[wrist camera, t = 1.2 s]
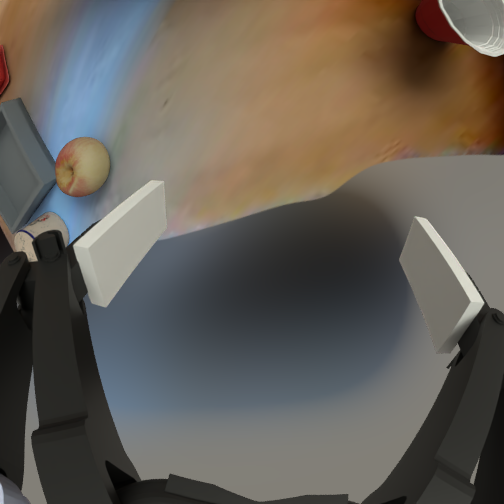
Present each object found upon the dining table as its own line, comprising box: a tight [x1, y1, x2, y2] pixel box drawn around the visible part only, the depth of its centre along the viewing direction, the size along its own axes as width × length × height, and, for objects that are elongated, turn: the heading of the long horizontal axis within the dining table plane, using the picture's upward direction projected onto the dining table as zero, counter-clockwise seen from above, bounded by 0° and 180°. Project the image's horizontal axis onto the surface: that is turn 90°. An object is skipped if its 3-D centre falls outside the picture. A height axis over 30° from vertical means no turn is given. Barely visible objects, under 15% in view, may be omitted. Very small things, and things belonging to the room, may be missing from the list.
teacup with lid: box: [14, 212, 69, 262], centre depth 43 cm, size 12×9×12 cm
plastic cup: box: [415, 0, 504, 57], centre depth 16 cm, size 11×11×12 cm
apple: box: [55, 137, 110, 197], centre depth 35 cm, size 9×9×8 cm
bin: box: [0, 98, 57, 234], centre depth 38 cm, size 20×20×5 cm
